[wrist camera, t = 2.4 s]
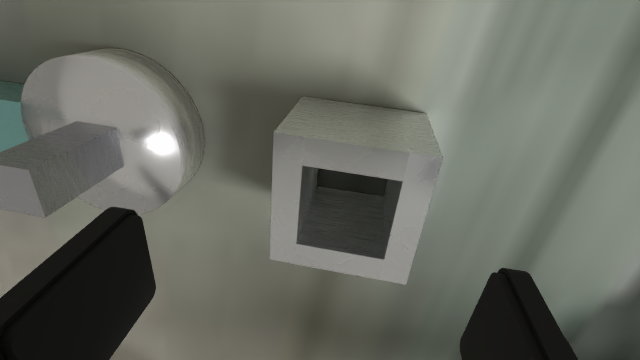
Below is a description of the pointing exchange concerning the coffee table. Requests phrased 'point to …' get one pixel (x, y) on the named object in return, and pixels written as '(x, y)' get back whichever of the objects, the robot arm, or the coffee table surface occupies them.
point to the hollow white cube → (346, 206)
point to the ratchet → (96, 134)
